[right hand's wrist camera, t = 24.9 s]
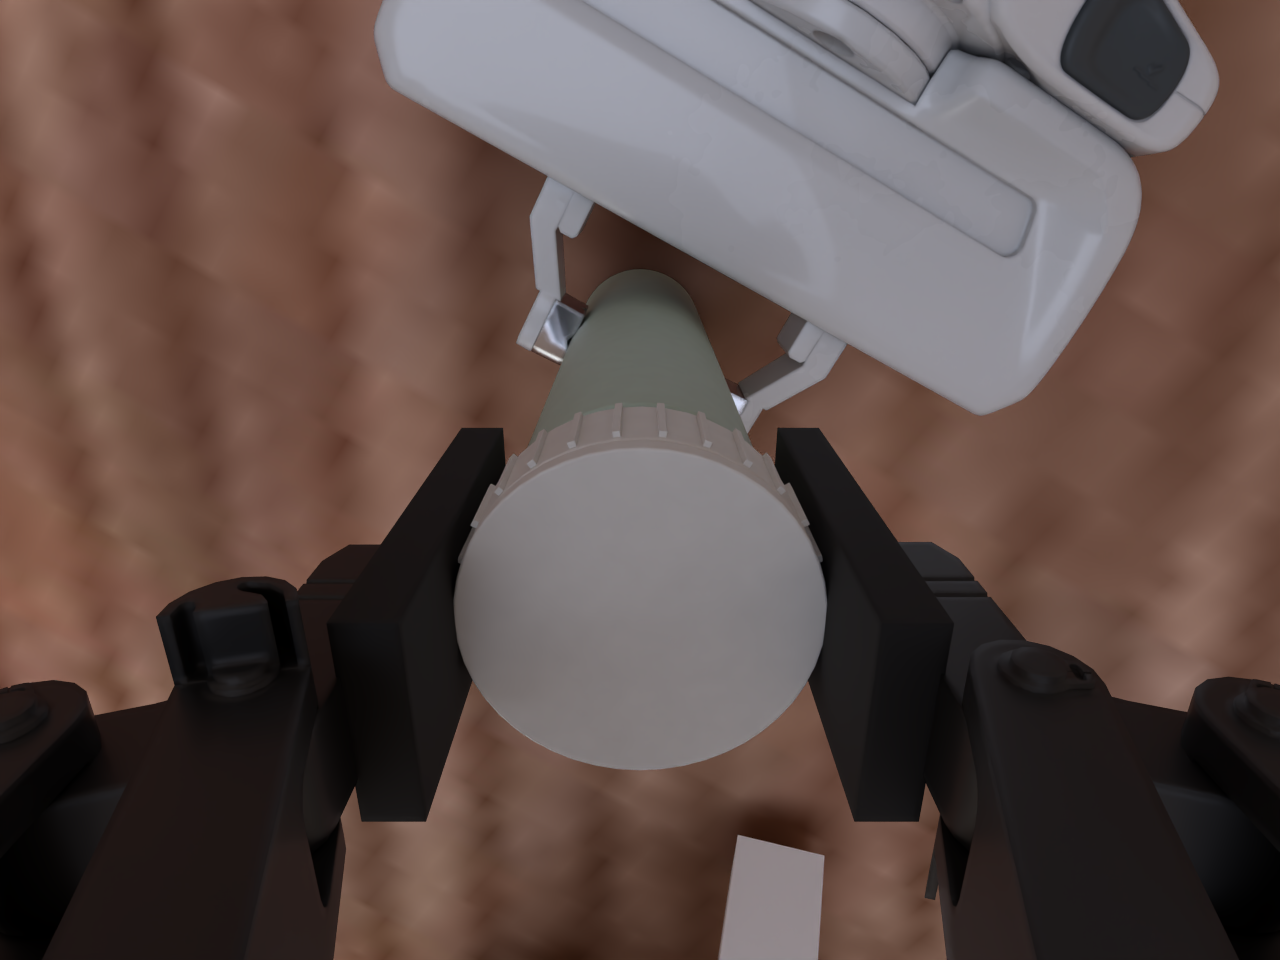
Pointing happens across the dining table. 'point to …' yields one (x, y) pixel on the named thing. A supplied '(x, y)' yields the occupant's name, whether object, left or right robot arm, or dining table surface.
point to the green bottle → (640, 356)
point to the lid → (640, 590)
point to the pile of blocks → (772, 903)
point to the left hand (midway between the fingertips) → (627, 396)
